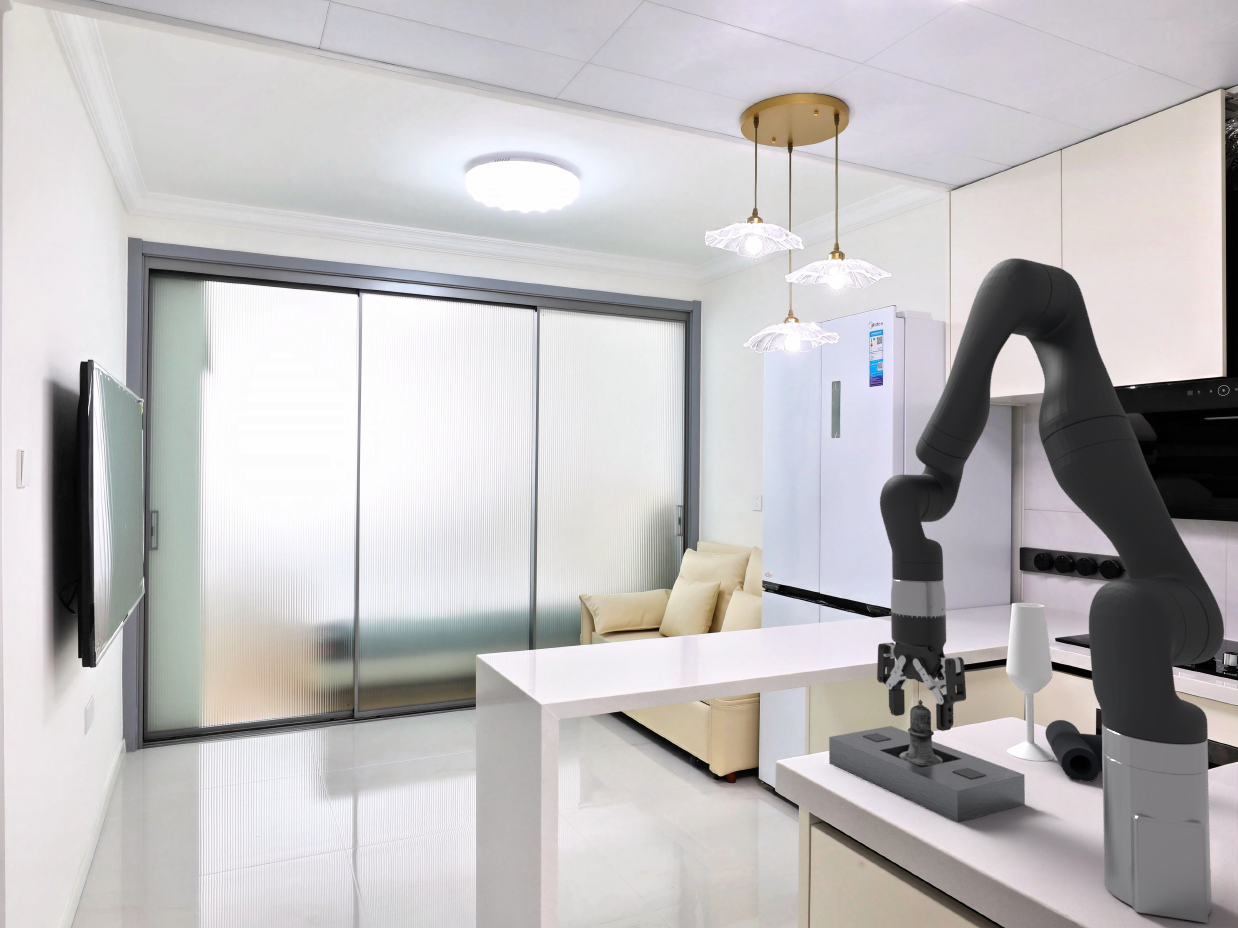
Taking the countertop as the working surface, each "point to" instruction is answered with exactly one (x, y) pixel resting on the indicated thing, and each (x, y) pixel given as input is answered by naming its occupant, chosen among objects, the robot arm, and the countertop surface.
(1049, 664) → the champagne flute
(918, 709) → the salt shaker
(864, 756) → the gray slotted block
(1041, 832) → the countertop surface
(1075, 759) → the pipe connector
